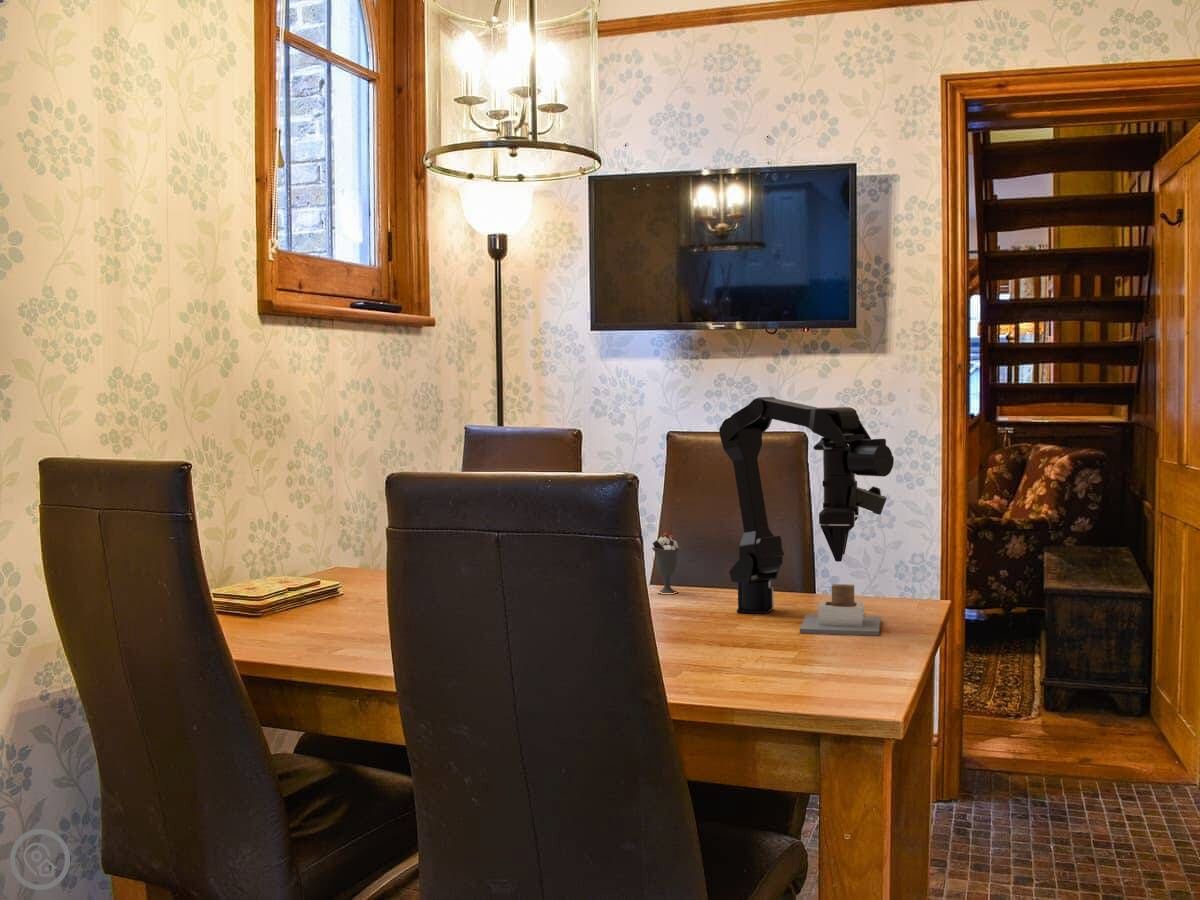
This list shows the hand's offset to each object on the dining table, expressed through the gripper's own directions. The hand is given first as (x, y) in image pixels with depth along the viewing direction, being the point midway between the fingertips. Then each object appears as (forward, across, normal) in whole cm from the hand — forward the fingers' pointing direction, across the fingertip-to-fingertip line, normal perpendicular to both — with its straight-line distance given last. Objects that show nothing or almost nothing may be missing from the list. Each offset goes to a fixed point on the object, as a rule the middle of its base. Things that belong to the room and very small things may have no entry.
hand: (840, 557), depth 206 cm
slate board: (+13, 0, 0) cm, 13 cm away
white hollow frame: (+13, 0, 0) cm, 13 cm away
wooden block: (+12, 0, 0) cm, 12 cm away
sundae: (+13, +31, +40) cm, 52 cm away
